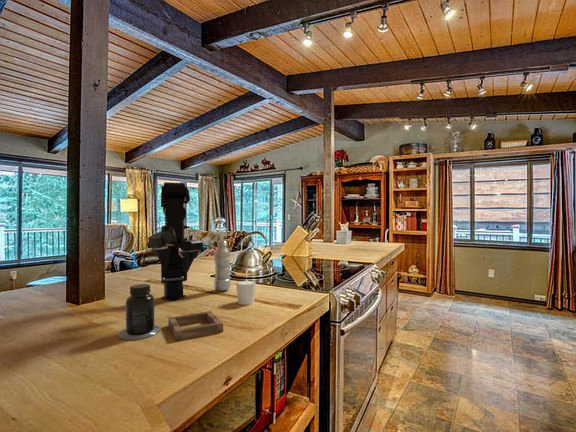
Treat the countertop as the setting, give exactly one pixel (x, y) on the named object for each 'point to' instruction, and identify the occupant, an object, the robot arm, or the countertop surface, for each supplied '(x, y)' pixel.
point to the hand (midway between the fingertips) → (175, 271)
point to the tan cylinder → (245, 292)
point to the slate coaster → (125, 336)
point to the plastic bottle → (222, 267)
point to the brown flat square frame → (195, 331)
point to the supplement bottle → (139, 310)
